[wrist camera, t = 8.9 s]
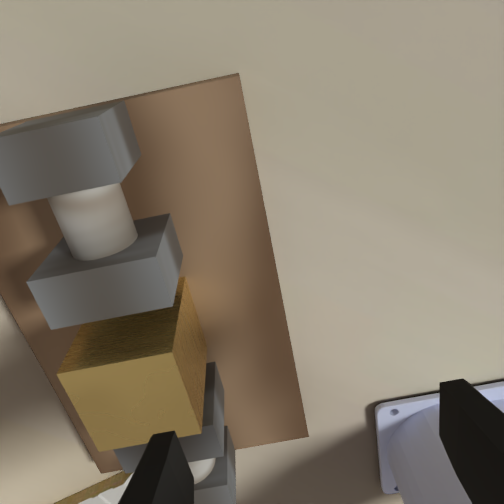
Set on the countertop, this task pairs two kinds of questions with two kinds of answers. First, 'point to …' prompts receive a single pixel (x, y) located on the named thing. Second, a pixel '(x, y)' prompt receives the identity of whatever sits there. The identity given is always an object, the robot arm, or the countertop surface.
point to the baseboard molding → (101, 491)
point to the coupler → (139, 374)
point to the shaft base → (213, 262)
